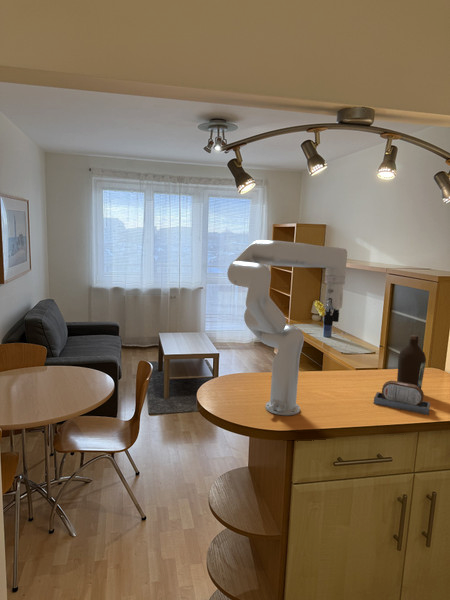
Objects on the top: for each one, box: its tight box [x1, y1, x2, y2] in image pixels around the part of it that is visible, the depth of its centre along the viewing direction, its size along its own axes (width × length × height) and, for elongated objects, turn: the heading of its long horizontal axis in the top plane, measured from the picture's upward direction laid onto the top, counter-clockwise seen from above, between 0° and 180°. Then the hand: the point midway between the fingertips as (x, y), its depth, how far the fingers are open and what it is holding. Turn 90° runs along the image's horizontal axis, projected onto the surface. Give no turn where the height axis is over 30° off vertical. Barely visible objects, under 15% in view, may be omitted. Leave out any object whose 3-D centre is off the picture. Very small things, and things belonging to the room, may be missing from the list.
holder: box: [373, 391, 431, 416], centre depth 167 cm, size 8×20×2 cm, turn 62°
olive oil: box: [396, 334, 427, 389], centre depth 181 cm, size 11×11×25 cm
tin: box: [381, 380, 425, 406], centre depth 166 cm, size 15×3×8 cm, turn 62°
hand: (331, 323), depth 168 cm, fingers open, 9 cm apart
